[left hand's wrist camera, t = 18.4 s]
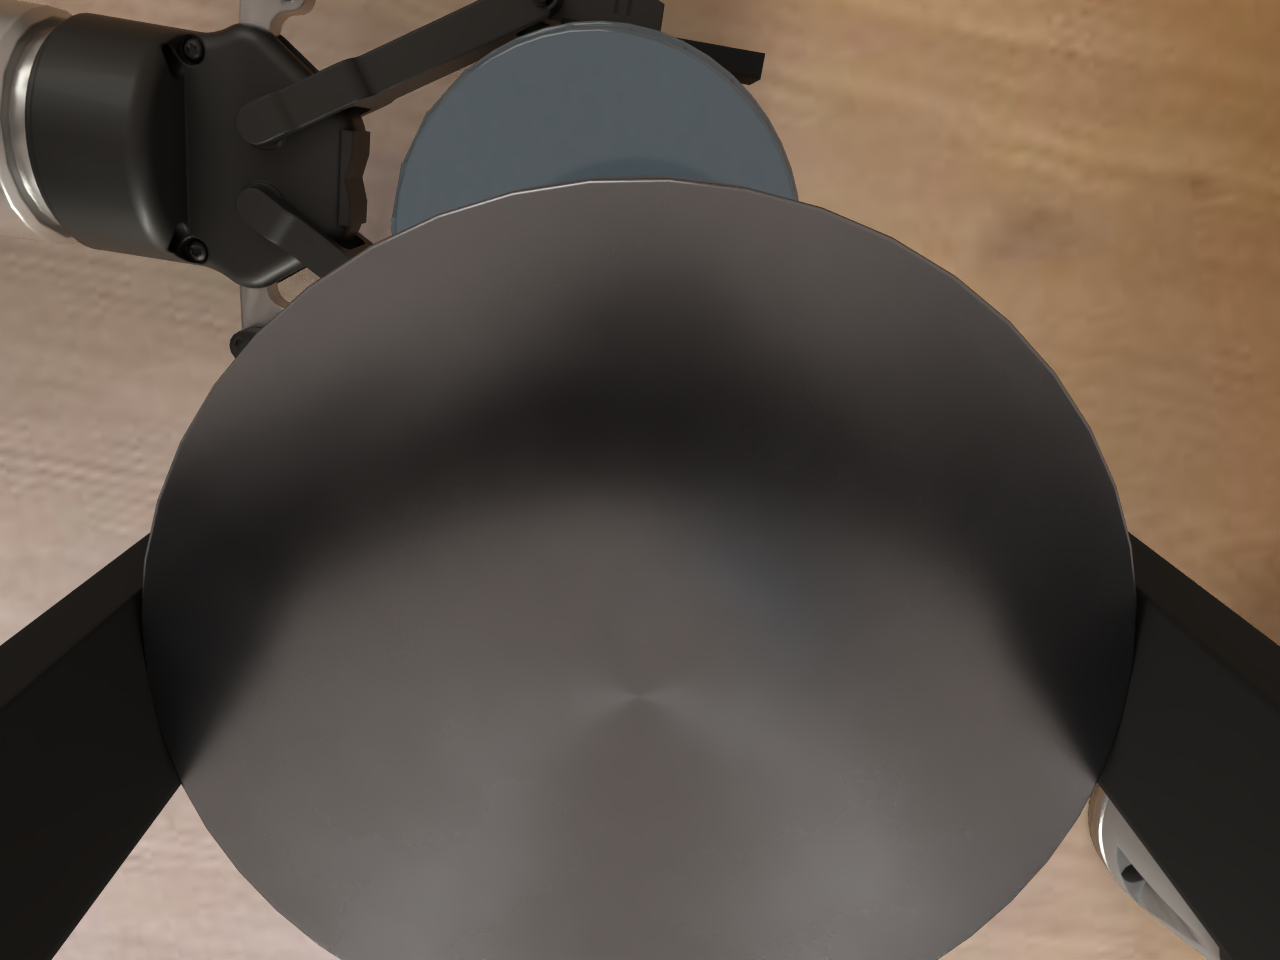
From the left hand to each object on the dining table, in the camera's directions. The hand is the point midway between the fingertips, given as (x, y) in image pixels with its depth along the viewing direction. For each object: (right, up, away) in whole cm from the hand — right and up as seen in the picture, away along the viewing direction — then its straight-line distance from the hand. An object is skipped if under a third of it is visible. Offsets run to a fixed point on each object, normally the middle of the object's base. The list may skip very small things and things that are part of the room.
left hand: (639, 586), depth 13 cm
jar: (-1, +13, +24) cm, 27 cm away
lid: (0, -1, -2) cm, 3 cm away
